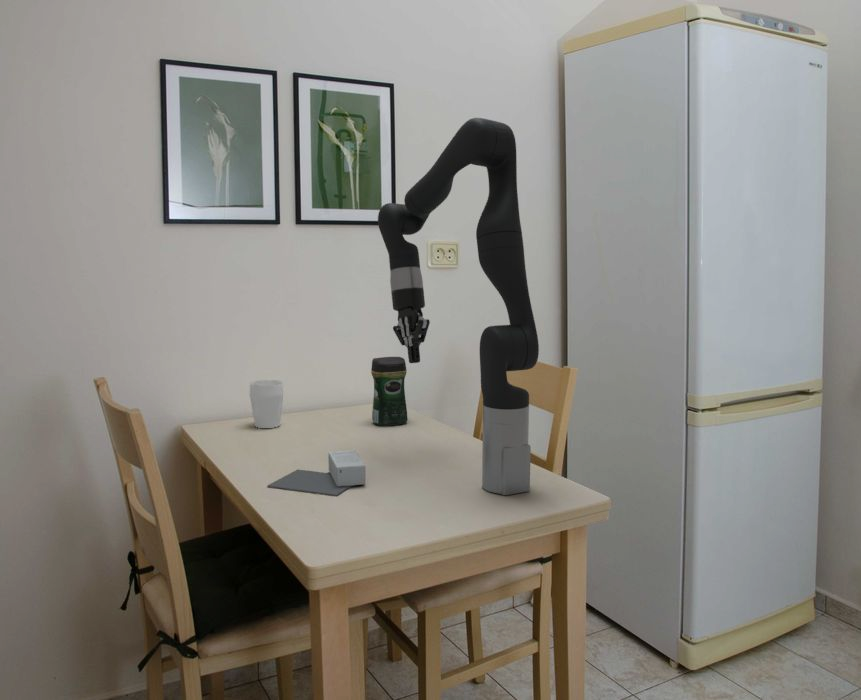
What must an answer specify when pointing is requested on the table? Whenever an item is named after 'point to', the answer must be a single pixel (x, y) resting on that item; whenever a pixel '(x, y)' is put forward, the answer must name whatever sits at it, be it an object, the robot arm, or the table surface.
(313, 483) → the mat
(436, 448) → the table surface
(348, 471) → the skincare box
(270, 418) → the cup
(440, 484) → the table surface
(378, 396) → the coffee jar
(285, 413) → the table surface
